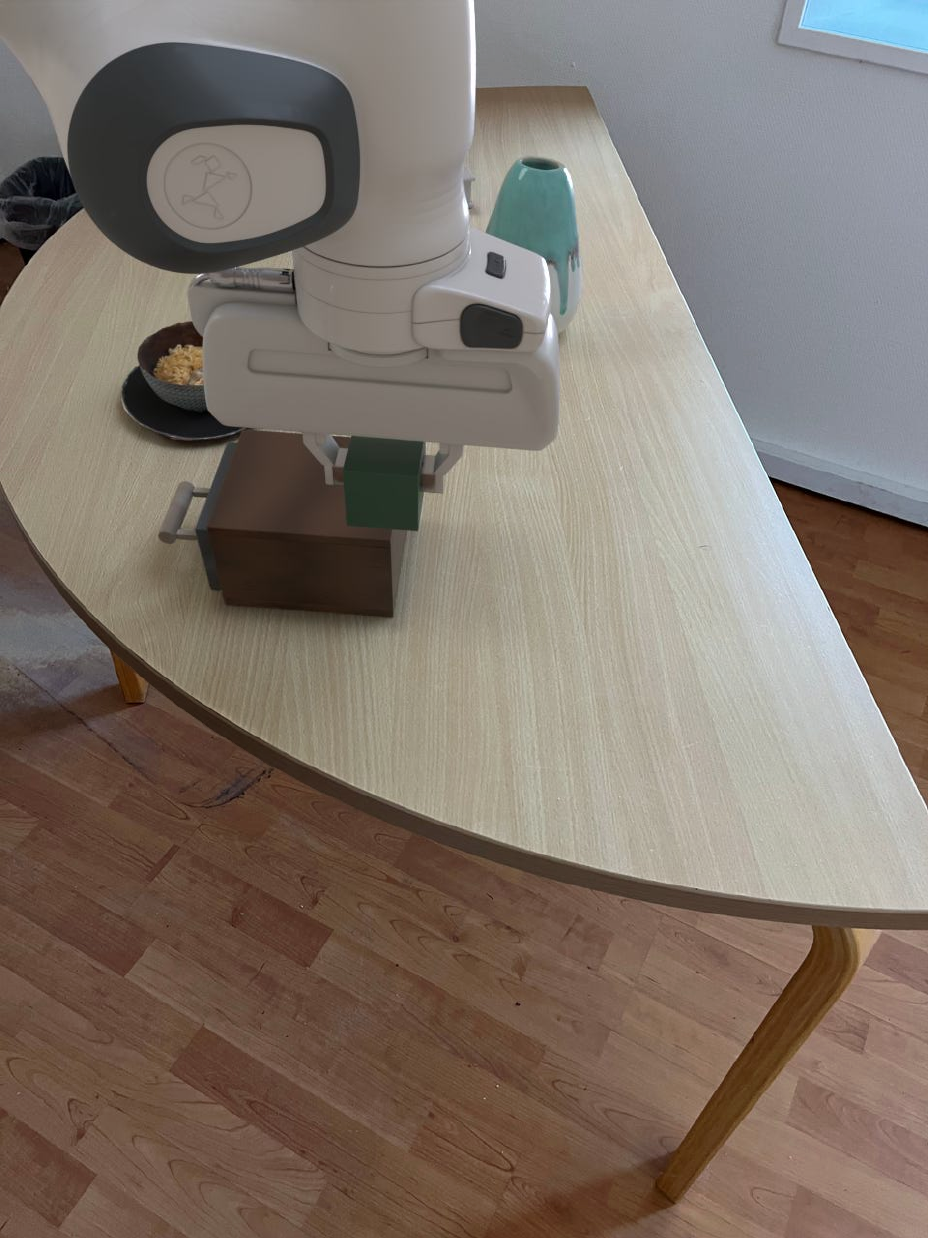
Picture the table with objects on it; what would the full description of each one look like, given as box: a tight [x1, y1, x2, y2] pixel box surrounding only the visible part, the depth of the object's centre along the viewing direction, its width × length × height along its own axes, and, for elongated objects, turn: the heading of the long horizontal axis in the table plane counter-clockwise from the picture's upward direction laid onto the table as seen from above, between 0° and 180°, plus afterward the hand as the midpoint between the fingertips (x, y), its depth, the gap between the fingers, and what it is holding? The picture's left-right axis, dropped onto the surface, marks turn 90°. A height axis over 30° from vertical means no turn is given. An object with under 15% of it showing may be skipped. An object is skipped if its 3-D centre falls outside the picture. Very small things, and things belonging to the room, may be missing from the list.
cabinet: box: [207, 429, 408, 618], centre depth 75 cm, size 14×12×9 cm
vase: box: [484, 155, 584, 335], centre depth 95 cm, size 12×12×18 cm
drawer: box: [157, 441, 238, 592], centre depth 75 cm, size 17×10×7 cm, turn 86°
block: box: [343, 436, 427, 532], centre depth 58 cm, size 4×4×4 cm
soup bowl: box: [120, 320, 250, 441], centre depth 89 cm, size 15×16×7 cm
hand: (386, 483), depth 58 cm, fingers closed on block, 4 cm apart
